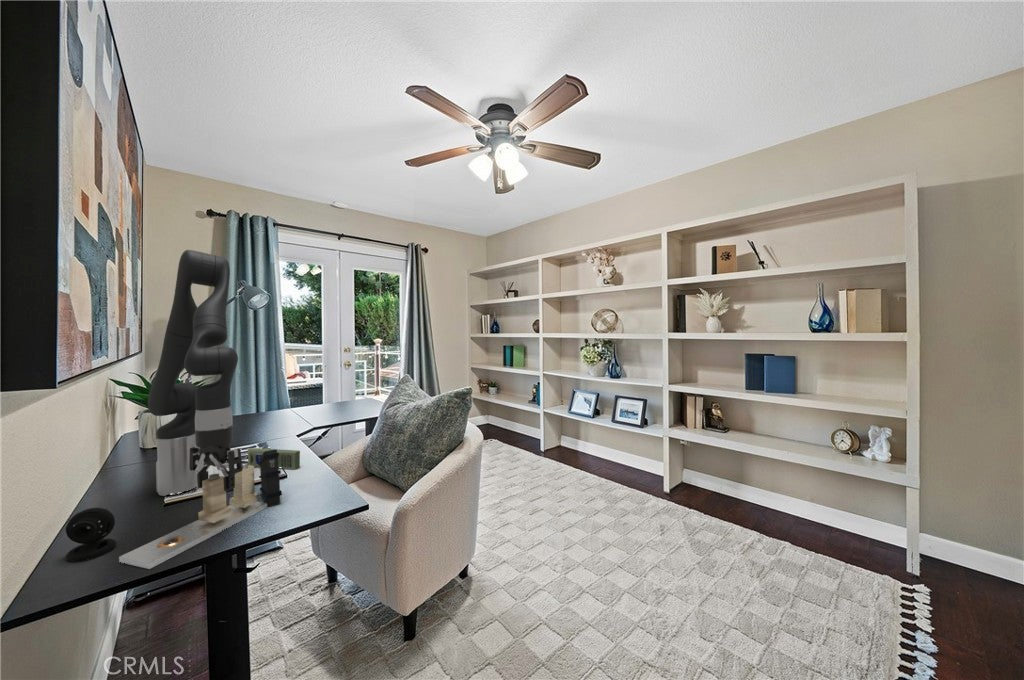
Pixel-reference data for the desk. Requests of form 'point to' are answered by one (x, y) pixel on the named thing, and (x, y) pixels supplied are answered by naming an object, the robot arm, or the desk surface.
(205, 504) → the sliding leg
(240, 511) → the bolt-hole plate
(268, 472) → the black boxy piece
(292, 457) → the handheld radio
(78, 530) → the webcam
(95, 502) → the desk surface
